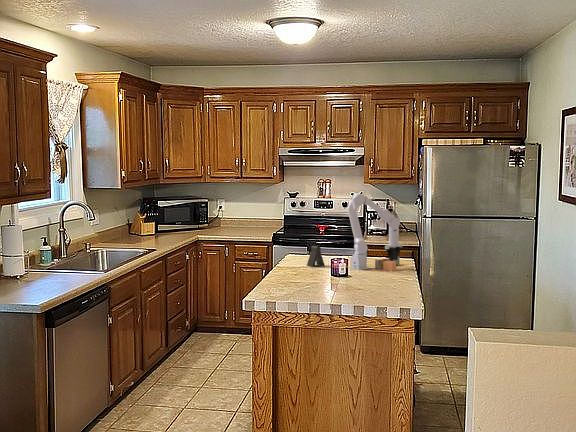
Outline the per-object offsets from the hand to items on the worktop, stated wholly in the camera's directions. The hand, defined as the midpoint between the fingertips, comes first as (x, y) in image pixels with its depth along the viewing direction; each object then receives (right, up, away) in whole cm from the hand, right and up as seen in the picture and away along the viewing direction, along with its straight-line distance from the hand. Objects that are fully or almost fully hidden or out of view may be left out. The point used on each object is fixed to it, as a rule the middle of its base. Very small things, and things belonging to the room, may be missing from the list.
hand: (393, 260), depth 365 cm
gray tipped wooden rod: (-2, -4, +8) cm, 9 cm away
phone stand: (-45, -4, +7) cm, 46 cm away
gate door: (-4, -4, +5) cm, 8 cm away
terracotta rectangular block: (-3, -5, -6) cm, 9 cm away
